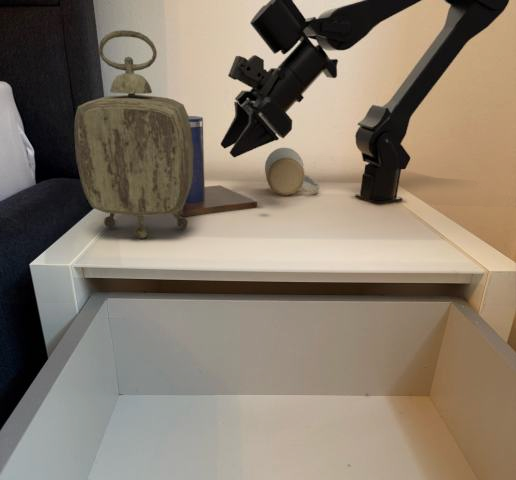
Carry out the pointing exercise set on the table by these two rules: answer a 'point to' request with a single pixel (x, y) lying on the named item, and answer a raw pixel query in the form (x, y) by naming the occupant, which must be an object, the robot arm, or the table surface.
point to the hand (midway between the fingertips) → (226, 150)
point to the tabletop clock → (134, 147)
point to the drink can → (197, 161)
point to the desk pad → (218, 202)
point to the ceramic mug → (287, 173)
